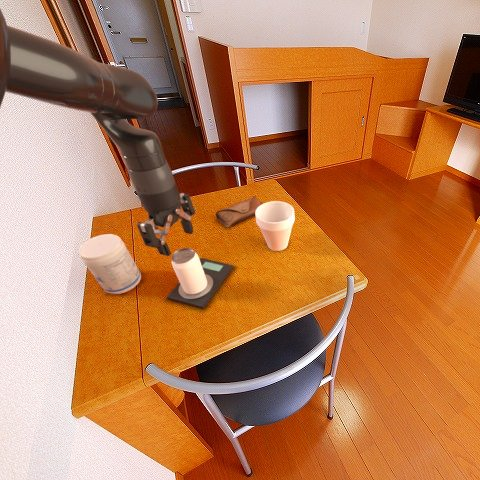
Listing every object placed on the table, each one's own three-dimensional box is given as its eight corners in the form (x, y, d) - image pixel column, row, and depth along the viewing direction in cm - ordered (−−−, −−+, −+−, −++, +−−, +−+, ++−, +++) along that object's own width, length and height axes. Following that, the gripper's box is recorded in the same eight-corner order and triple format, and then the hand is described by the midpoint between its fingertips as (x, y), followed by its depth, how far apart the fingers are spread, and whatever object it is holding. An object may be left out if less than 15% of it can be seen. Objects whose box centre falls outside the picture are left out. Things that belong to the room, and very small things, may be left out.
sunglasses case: (228, 228, 99) (220, 211, 97) (221, 228, 105) (213, 212, 103) (268, 209, 109) (261, 193, 107) (260, 210, 115) (253, 195, 113)
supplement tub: (97, 286, 78) (68, 248, 69) (129, 266, 85) (107, 228, 75) (117, 301, 75) (89, 263, 65) (149, 279, 81) (128, 241, 71)
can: (182, 281, 79) (168, 250, 71) (206, 274, 81) (195, 244, 73) (184, 298, 74) (169, 267, 66) (209, 290, 76) (198, 260, 69)
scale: (203, 309, 74) (201, 305, 73) (168, 299, 76) (166, 296, 75) (233, 267, 85) (232, 264, 84) (201, 260, 87) (200, 256, 86)
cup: (301, 238, 97) (301, 206, 88) (285, 260, 88) (282, 227, 80) (271, 229, 100) (267, 197, 92) (252, 250, 92) (246, 217, 83)
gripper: (145, 204, 51) (172, 266, 61) (192, 171, 61) (208, 229, 72) (111, 198, 52) (144, 259, 63) (163, 166, 63) (183, 223, 73)
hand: (178, 243), depth 67 cm, fingers open, 8 cm apart
